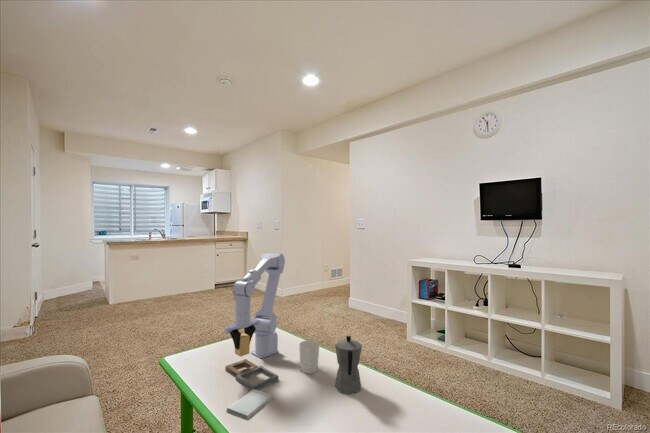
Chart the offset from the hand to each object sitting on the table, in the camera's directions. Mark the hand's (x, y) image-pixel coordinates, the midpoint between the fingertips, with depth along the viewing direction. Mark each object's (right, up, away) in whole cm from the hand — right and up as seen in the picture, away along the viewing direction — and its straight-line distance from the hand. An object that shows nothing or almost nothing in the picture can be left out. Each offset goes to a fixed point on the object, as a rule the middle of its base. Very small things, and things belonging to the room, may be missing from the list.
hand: (242, 346), depth 122 cm
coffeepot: (+40, -10, -13) cm, 43 cm away
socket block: (0, -9, 0) cm, 9 cm away
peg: (0, -3, 0) cm, 2 cm away
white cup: (+26, -10, +1) cm, 28 cm away
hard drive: (+9, -10, -23) cm, 26 cm away
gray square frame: (+7, -9, -7) cm, 14 cm away
